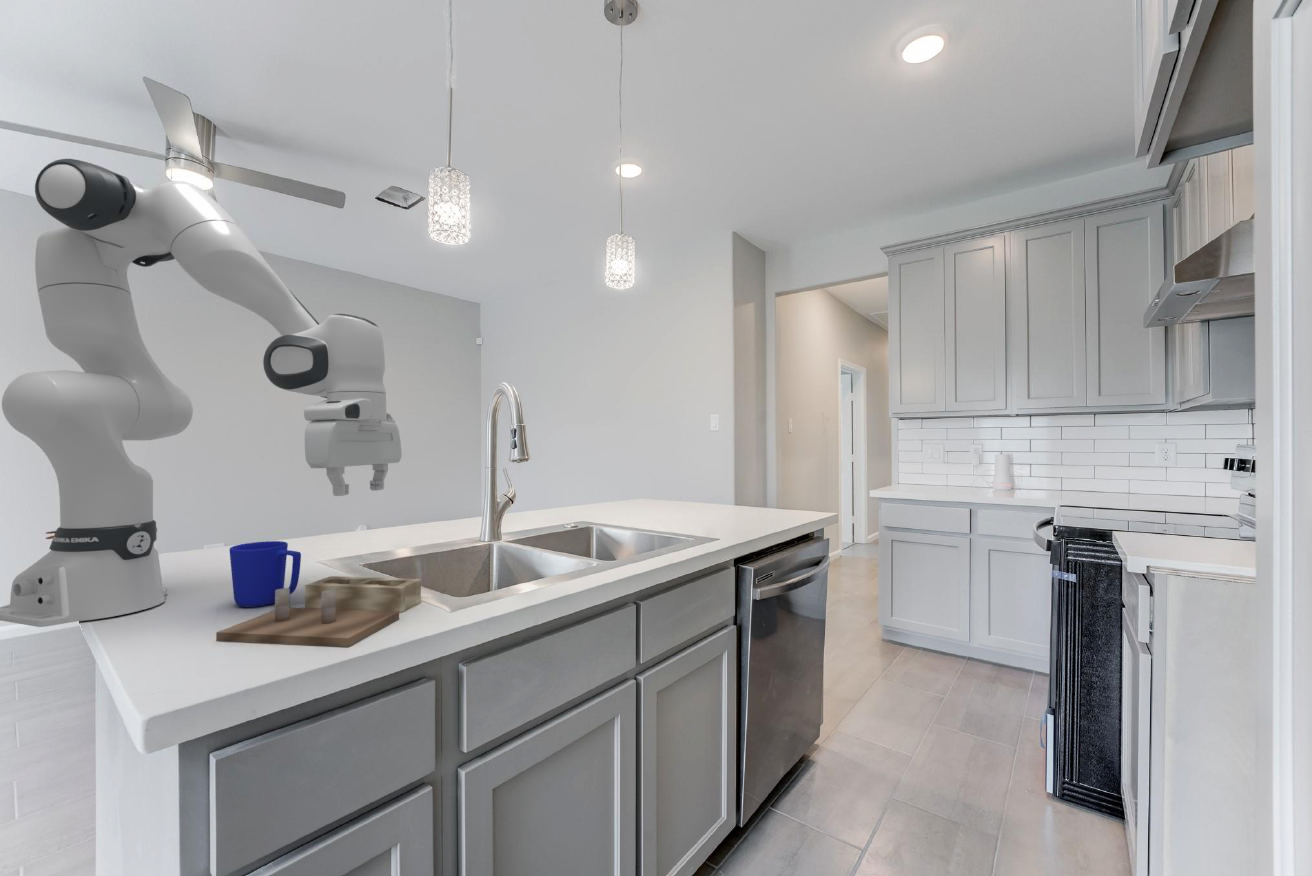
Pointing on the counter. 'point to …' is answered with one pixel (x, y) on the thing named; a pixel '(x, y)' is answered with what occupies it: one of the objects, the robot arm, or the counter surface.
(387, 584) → the two-compartment stone tray
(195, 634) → the counter surface
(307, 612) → the board
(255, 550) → the mug
